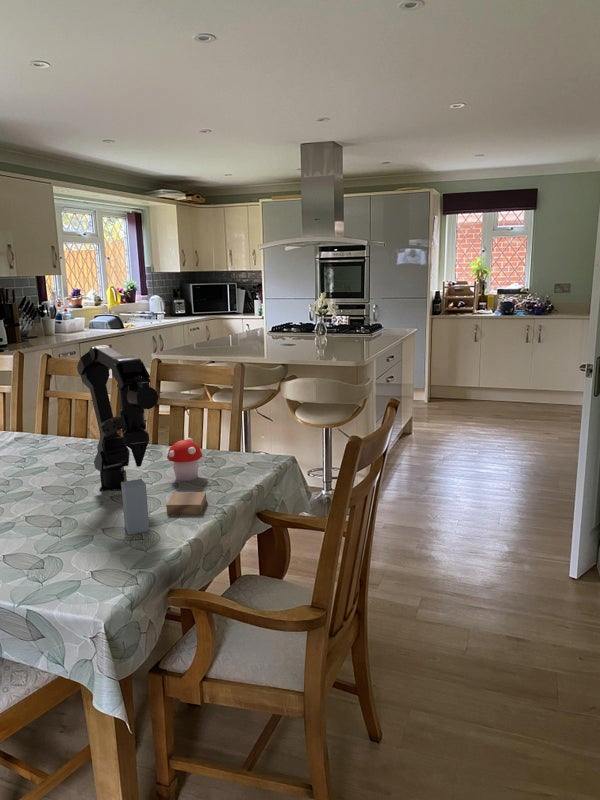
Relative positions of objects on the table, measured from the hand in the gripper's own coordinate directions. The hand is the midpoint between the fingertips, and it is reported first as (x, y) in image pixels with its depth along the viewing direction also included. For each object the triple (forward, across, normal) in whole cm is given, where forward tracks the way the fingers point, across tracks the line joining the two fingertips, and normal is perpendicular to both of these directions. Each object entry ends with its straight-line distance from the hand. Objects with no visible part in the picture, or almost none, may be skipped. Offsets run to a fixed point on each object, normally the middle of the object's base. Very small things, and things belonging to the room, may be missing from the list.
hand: (137, 462), depth 160 cm
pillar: (+13, +14, -2) cm, 20 cm away
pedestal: (+14, +4, +12) cm, 18 cm away
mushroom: (+12, -20, +14) cm, 27 cm away
